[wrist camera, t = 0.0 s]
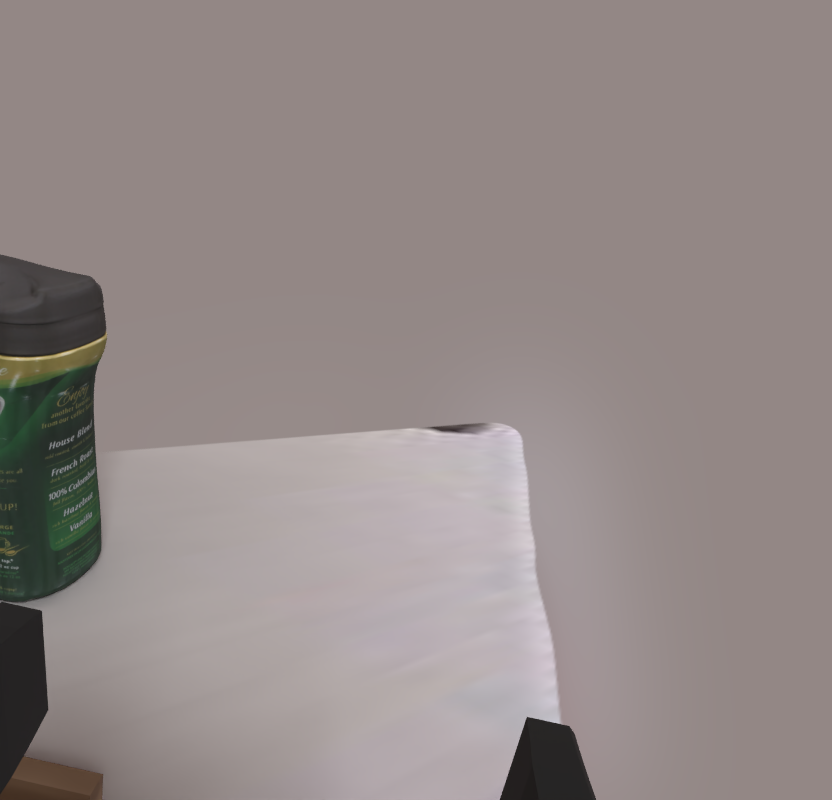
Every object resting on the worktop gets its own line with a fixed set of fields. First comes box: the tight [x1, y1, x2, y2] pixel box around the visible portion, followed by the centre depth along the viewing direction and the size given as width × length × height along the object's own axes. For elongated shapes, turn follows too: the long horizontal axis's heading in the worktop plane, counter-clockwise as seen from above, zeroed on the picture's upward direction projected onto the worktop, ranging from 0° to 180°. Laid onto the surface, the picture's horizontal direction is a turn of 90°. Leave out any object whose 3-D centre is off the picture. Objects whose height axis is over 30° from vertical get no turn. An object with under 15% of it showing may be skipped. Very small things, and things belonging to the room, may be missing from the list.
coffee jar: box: [0, 255, 107, 602], centre depth 44 cm, size 10×8×19 cm
